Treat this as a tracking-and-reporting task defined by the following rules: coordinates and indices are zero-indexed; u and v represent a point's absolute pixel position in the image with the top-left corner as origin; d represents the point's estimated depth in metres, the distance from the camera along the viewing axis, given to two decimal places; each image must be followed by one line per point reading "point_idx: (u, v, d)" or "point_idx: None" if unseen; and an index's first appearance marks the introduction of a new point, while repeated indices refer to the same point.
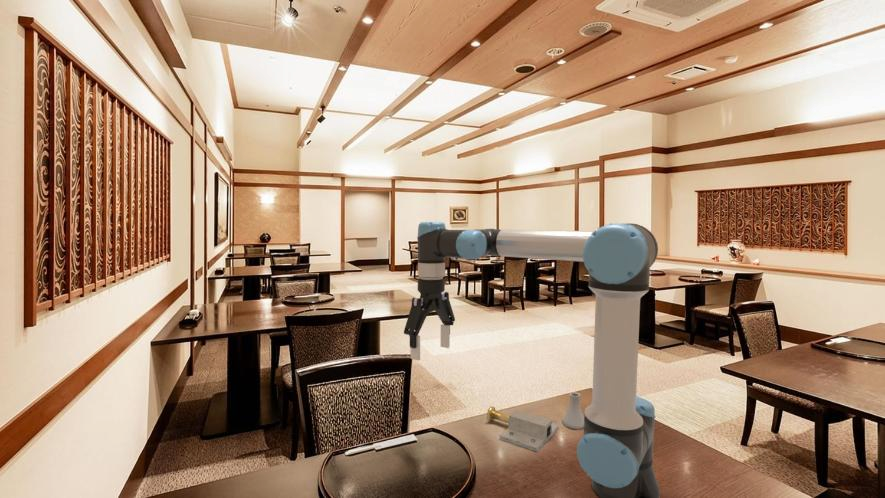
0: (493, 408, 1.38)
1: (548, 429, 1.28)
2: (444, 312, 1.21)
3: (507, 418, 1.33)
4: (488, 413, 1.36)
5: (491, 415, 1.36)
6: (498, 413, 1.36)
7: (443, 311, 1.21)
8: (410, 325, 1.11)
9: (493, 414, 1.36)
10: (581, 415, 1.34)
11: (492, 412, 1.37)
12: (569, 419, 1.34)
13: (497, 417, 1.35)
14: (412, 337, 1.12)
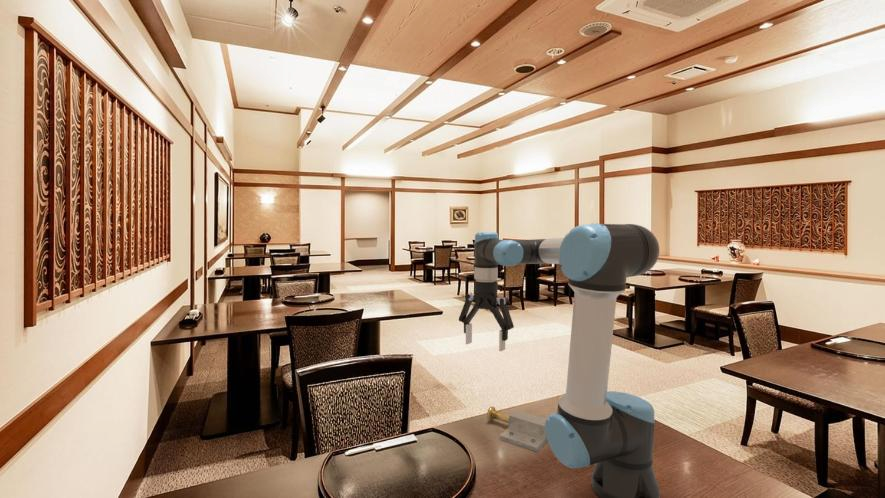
0: (493, 408, 1.38)
1: None
2: (495, 315, 1.33)
3: (507, 418, 1.33)
4: (488, 413, 1.36)
5: (491, 415, 1.36)
6: (498, 413, 1.36)
7: (494, 314, 1.34)
8: None
9: (493, 414, 1.36)
10: None
11: (492, 412, 1.37)
12: None
13: (497, 417, 1.35)
14: None
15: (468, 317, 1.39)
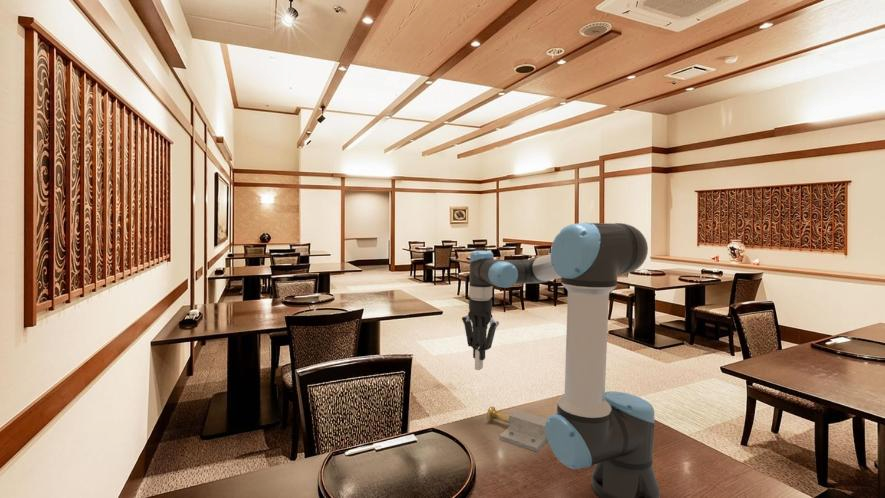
0: (493, 408, 1.38)
1: None
2: (481, 335, 1.37)
3: (507, 418, 1.33)
4: (488, 413, 1.36)
5: (491, 415, 1.36)
6: (498, 413, 1.36)
7: (481, 333, 1.37)
8: None
9: (493, 414, 1.36)
10: None
11: (492, 412, 1.37)
12: None
13: (497, 417, 1.35)
14: None
15: (474, 340, 1.39)
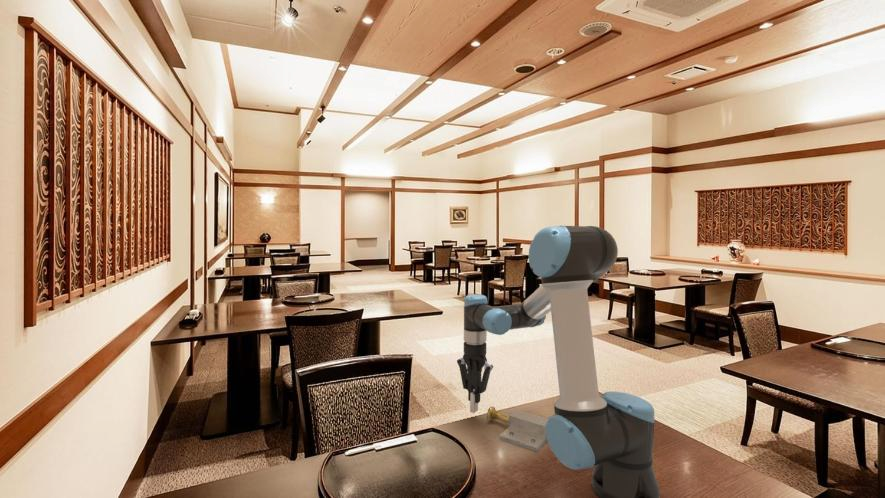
0: (493, 408, 1.38)
1: None
2: (476, 378, 1.39)
3: (507, 418, 1.33)
4: (488, 413, 1.36)
5: (491, 415, 1.36)
6: (498, 413, 1.36)
7: (475, 376, 1.39)
8: None
9: (493, 414, 1.36)
10: None
11: (492, 412, 1.37)
12: None
13: (497, 417, 1.35)
14: None
15: (469, 383, 1.41)
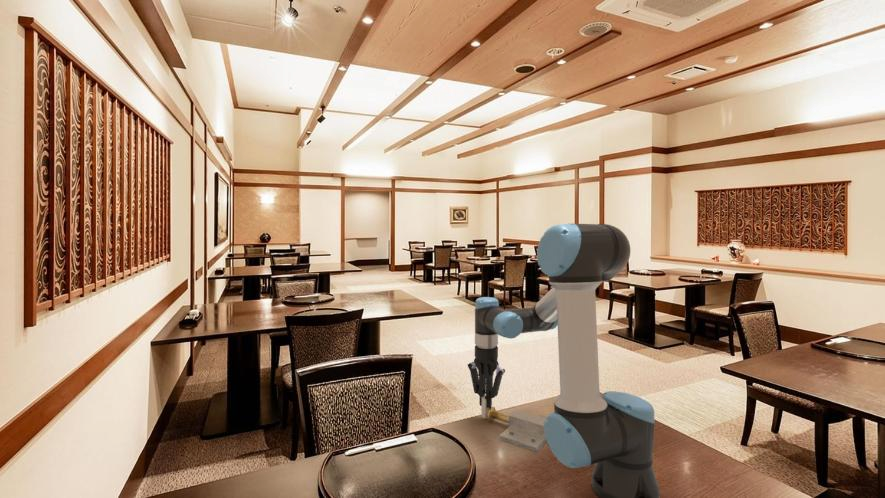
0: (493, 408, 1.38)
1: None
2: (487, 382, 1.36)
3: (507, 418, 1.33)
4: (488, 413, 1.36)
5: (491, 415, 1.36)
6: (498, 413, 1.36)
7: (487, 380, 1.36)
8: None
9: (493, 414, 1.36)
10: None
11: (492, 412, 1.37)
12: None
13: (497, 417, 1.35)
14: None
15: (480, 388, 1.38)
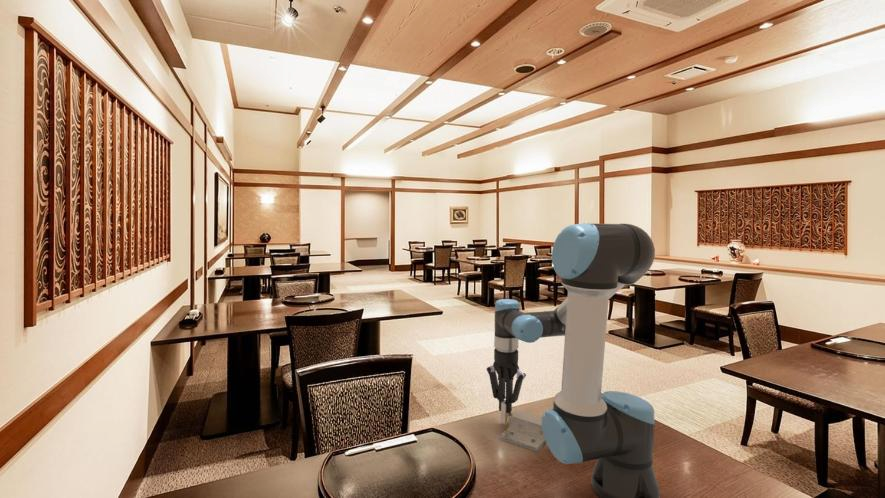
0: None
1: None
2: (507, 387, 1.32)
3: None
4: (508, 419, 1.32)
5: None
6: None
7: (507, 385, 1.32)
8: None
9: None
10: None
11: None
12: None
13: None
14: None
15: (500, 392, 1.34)
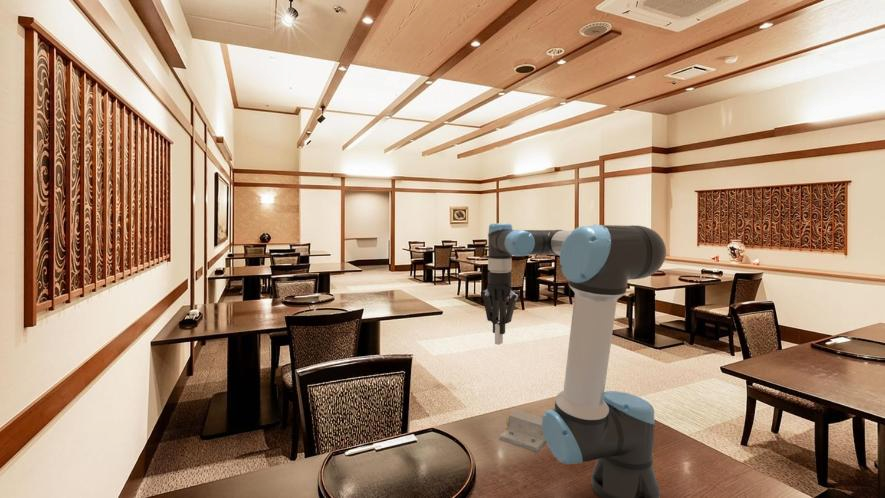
0: None
1: None
2: (501, 308, 1.35)
3: None
4: (508, 419, 1.32)
5: None
6: None
7: (501, 306, 1.35)
8: None
9: None
10: None
11: None
12: None
13: None
14: None
15: (494, 314, 1.37)
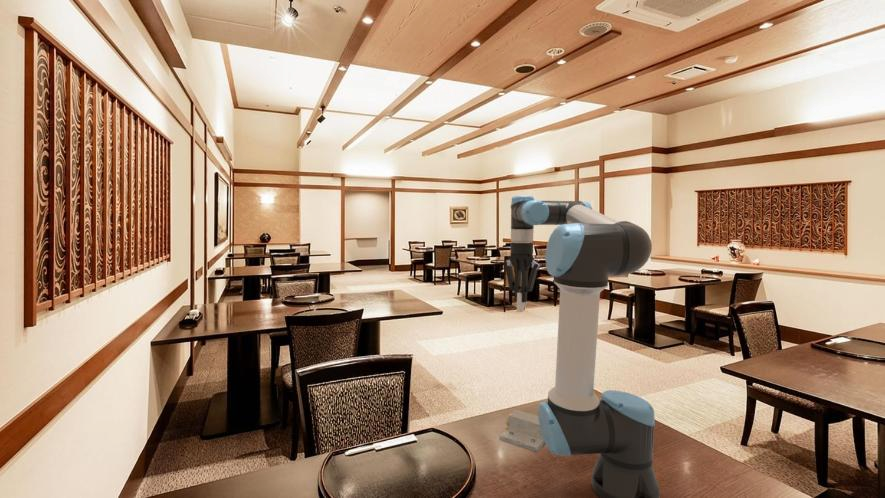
0: None
1: None
2: (523, 277, 1.42)
3: None
4: (508, 419, 1.32)
5: None
6: None
7: (523, 275, 1.42)
8: None
9: None
10: None
11: None
12: None
13: None
14: None
15: (516, 283, 1.43)
